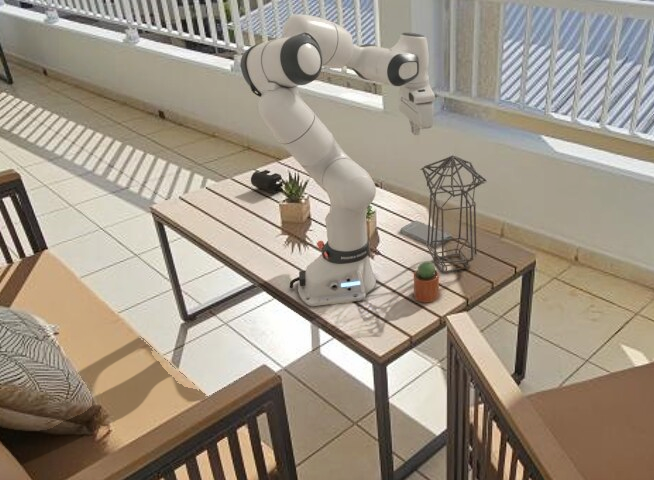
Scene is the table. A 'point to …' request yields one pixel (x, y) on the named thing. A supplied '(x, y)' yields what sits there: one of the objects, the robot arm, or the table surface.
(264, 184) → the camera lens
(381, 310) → the table surface
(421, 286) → the succulent pot
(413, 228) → the phone
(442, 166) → the geometric lantern
